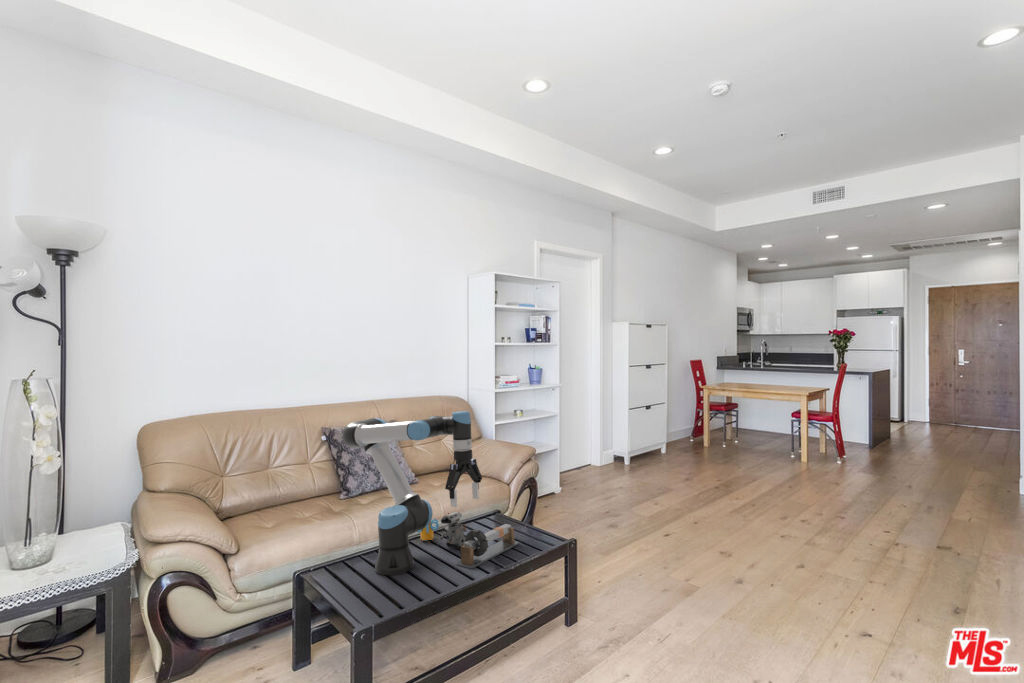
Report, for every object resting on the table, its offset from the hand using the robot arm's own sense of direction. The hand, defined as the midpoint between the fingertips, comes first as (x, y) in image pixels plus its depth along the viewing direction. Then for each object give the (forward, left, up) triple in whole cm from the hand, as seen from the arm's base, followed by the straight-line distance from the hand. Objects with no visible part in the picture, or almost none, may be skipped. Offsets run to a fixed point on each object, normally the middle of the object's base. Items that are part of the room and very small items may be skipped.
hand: (465, 502), depth 209 cm
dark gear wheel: (+6, 0, -23) cm, 23 cm away
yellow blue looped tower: (+14, +37, -25) cm, 46 cm away
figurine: (+12, +19, -25) cm, 33 cm away
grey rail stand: (+14, 0, -25) cm, 28 cm away
